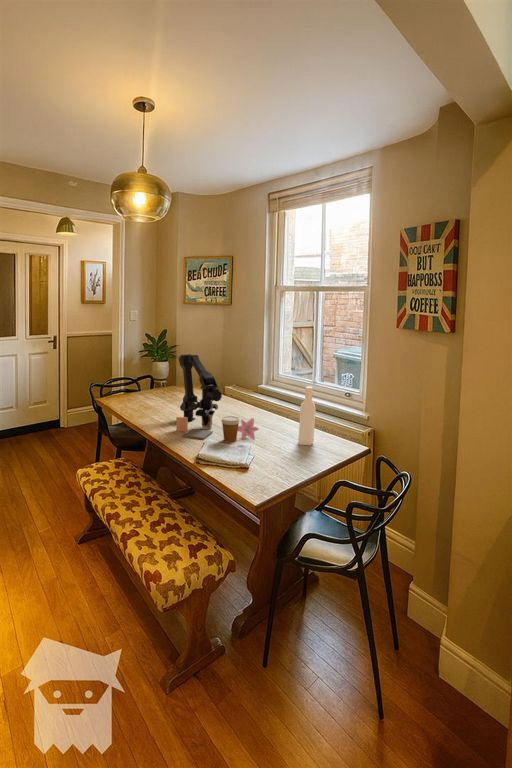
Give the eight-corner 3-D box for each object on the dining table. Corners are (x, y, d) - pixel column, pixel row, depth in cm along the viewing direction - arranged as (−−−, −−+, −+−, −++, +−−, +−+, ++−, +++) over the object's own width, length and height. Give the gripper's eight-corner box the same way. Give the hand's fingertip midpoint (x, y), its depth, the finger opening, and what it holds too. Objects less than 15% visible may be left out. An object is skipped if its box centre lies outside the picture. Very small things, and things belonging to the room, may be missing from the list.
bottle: (303, 439, 226) (307, 384, 220) (316, 443, 221) (320, 387, 215) (295, 443, 220) (298, 387, 214) (307, 447, 215) (311, 389, 209)
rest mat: (192, 430, 235) (192, 428, 234) (212, 433, 231) (212, 431, 231) (183, 436, 223) (183, 435, 223) (204, 439, 220) (204, 437, 220)
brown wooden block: (203, 427, 241) (203, 414, 239) (211, 428, 239) (212, 414, 238) (201, 429, 238) (201, 415, 236) (209, 430, 237) (210, 416, 235)
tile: (177, 429, 235) (177, 416, 233) (187, 431, 233) (187, 417, 231) (176, 430, 233) (176, 416, 232) (186, 432, 232) (186, 418, 230)
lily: (231, 438, 227) (233, 426, 220) (240, 425, 235) (243, 413, 229) (251, 448, 224) (254, 436, 218) (260, 434, 233) (263, 422, 226)
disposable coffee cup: (217, 439, 221) (217, 417, 219) (232, 436, 227) (233, 415, 225) (227, 444, 214) (228, 422, 211) (242, 441, 219) (243, 419, 217)
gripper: (200, 392, 246) (200, 418, 249) (186, 399, 228) (186, 427, 231) (218, 394, 243) (218, 420, 246) (205, 401, 225) (205, 429, 229)
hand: (206, 424), depth 238 cm, fingers open, 3 cm apart
